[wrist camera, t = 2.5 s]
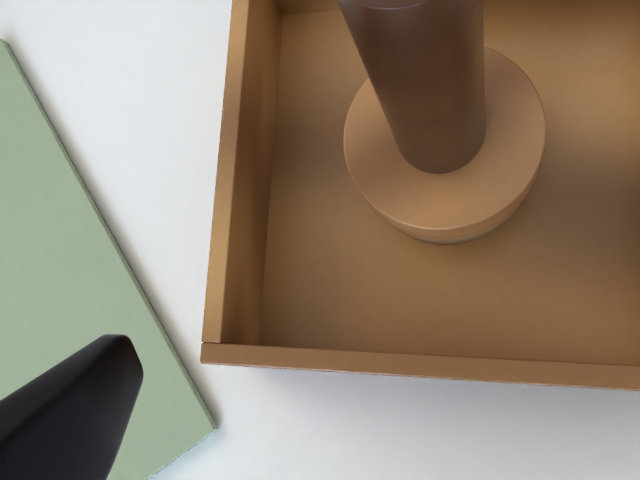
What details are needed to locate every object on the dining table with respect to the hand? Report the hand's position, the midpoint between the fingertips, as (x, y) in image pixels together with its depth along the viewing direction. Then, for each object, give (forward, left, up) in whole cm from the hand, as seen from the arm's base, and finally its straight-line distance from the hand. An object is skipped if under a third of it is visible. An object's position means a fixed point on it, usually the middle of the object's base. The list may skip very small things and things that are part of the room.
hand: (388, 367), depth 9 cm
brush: (+6, -4, -13) cm, 15 cm away
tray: (+6, -4, -13) cm, 15 cm away
